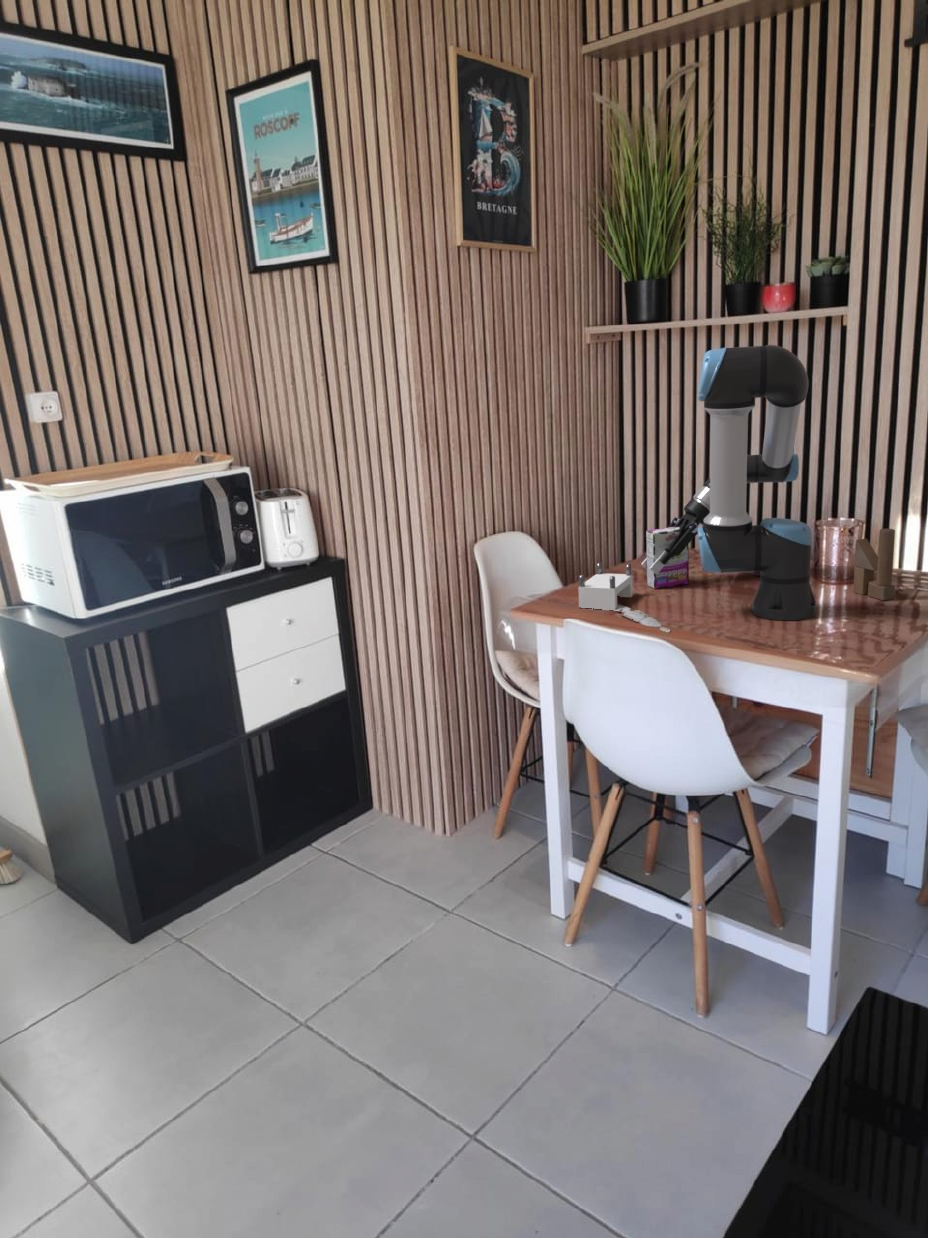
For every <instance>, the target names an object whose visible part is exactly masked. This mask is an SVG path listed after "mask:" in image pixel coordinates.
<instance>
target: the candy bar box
mask: <svg viewBox="0 0 928 1238" xmlns="http://www.w3.org/2000/svg"><path fill="white" fill-rule="evenodd" d="M679 530H680V529H679V527H669V528H667V527H665V528H663V527H662V528H656V529H649V530H646V531H645V532H646V533H645V534H646V535H645V537H646V538H645V539H646V558H647V569H646V581H647V586H648V587H649V588H652V589H654V590H659V589H665V588H671V587H678V586H684V585H685V586H686V585H689V584H690V578H689V577H690V575H689V571H690V562H689V560H690V559H689V557H690V555H689V553H690V552H689V546H690V545H689V544H690V543H689V544H688V545H687V546H686V548H685V549H684V550H683V551H682V552H681V554H680V555H679V556H676V555H675V556H674V557H672V558H671V559H670V560H669V561H668V562H667V563H666V565H665V566H664V567H663V568H662V569H661V570H660V572H659V573H658V574H657V575H656V574H655V573H654V572H653V571H652V570H650V569H649V568H650V567H651V566H652V565H653V563H654V562H655V561H656V560H657V559H658V558H659V556H660V555H661V554H662V553H663V552H664V551H666V550H665V548H669V546H670V545H671V543H672V542H673V540H674V539H675V538H676V536H677V535H678V534H679ZM666 552H667V551H666Z"/></svg>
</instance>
